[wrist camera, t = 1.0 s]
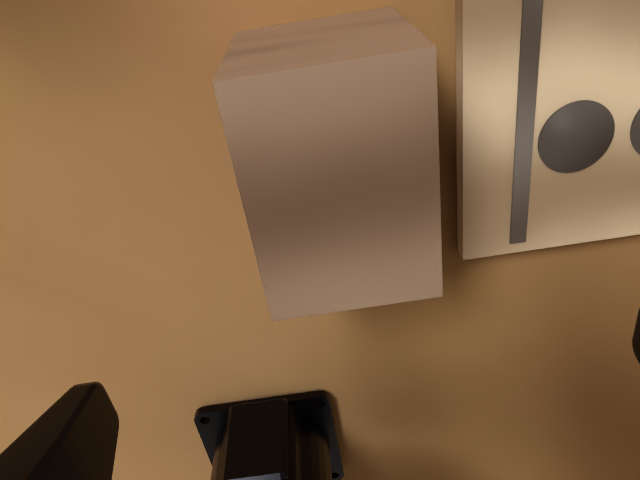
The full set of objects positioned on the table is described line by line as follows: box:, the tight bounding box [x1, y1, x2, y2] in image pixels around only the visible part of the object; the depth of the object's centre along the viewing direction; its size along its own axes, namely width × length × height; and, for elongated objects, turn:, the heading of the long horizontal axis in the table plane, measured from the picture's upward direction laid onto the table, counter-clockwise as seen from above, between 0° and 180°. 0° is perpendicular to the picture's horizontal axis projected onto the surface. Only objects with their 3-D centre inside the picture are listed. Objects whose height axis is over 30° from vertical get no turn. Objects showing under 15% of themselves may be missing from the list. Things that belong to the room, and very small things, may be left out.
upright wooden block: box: [212, 6, 443, 321], centre depth 16 cm, size 7×5×6 cm
